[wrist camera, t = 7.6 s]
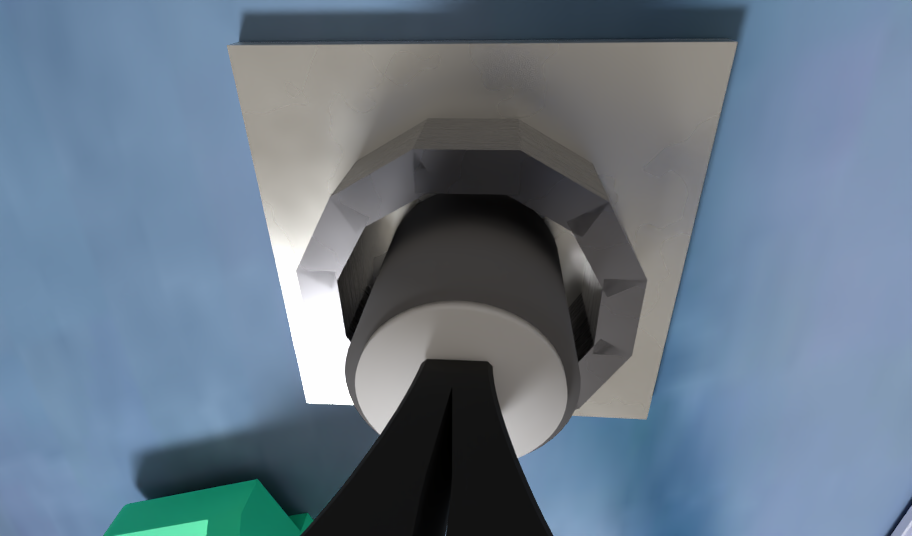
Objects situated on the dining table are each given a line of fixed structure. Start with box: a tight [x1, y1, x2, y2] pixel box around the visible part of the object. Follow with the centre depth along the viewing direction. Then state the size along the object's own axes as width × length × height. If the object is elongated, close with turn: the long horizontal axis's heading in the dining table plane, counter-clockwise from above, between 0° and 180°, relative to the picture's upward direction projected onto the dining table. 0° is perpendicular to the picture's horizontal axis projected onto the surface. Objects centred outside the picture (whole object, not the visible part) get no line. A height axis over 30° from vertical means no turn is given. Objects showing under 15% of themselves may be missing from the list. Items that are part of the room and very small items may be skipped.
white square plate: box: [227, 38, 737, 419], centre depth 14 cm, size 12×12×3 cm
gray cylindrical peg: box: [345, 193, 581, 458], centre depth 13 cm, size 5×5×5 cm
